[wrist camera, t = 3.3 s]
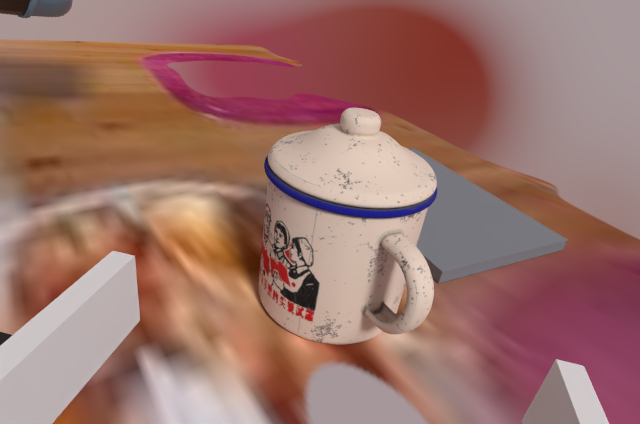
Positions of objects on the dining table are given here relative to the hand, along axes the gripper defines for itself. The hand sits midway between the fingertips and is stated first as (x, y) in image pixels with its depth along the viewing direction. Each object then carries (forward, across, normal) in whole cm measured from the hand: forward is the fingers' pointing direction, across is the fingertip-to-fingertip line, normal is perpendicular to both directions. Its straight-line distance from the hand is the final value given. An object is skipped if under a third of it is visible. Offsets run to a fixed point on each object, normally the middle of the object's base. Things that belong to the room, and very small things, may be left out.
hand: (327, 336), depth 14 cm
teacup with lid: (+10, 0, -8) cm, 12 cm away
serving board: (+27, +5, -7) cm, 29 cm away
